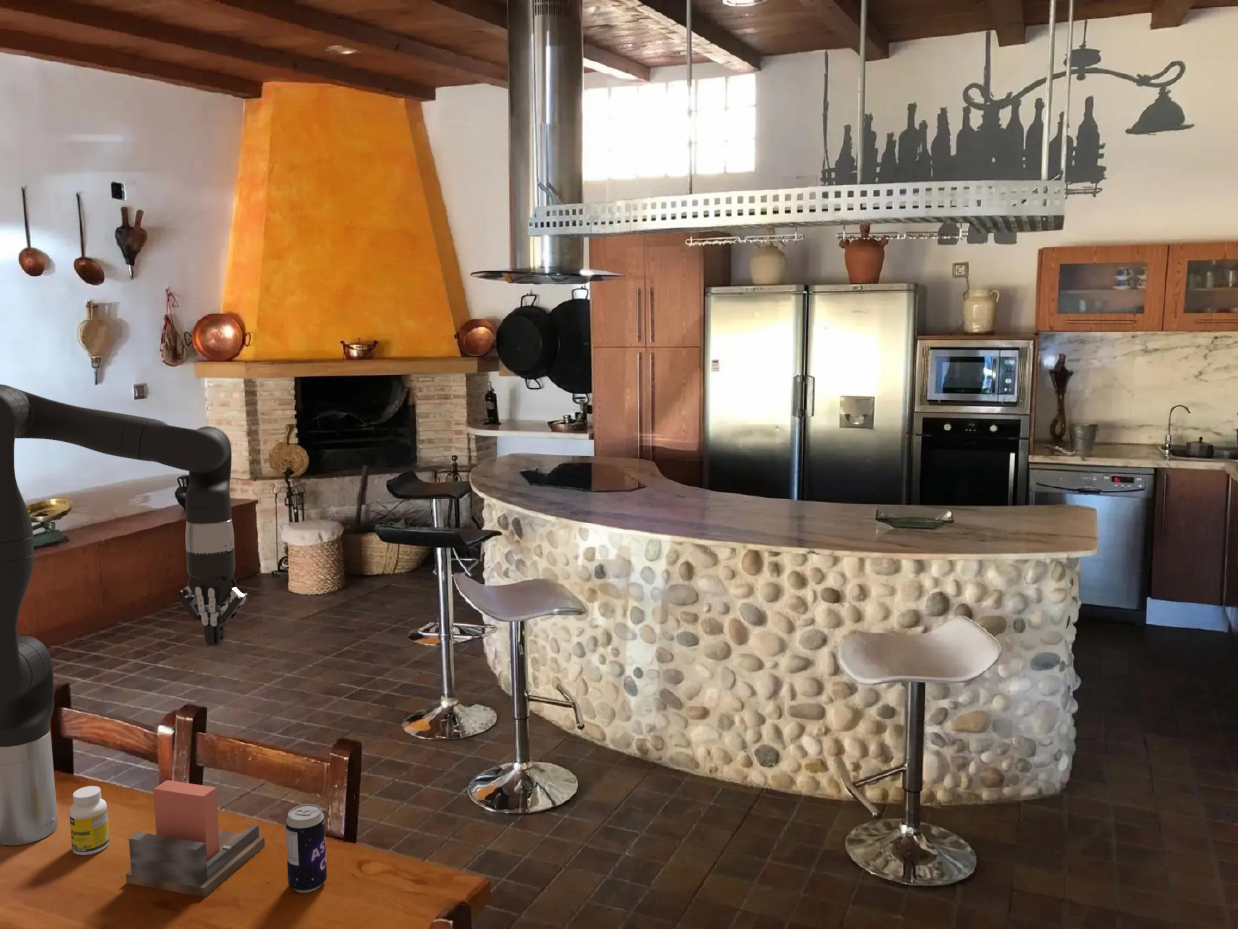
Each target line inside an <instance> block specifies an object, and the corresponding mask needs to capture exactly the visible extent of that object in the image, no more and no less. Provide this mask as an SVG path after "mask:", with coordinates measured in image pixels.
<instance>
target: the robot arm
mask: <svg viewBox="0 0 1238 929" xmlns="http://www.w3.org/2000/svg"><path fill="white" fill-rule="evenodd" d="M16 439H36V440H37V439H38V440H50V441H57V442H63V443H67V444H68V443H69V444H72V445H76V446H78V447H82V448H86V449H89V450H90V451H94V452H97V453H101V454H103V455H109V456H112V457H113V456H114V457H119V458H124V459H132V460H137V461H143V462H144V461H145V462H154V463H158V464H161V465H164V466H168V467H170V468H175V469H178V470H182V471H187V472H188V480H189V481H188V486H187V490H186V492H185V498H184V499H185V500H184V501H185V504H184V505H185V520H186V522H185V524H186V526H185V554H186V555H185V556H186V572H187V575H188V576H189V578H188V580H187V586H185V587H184V588H183V589H180V590H178V591H177V592H176V597H177V598H178V600H180V602H181V604H182V606H183V607H184V608H185V610H186V611H187V612H188V614H189V616H190V617H191V618H192V620H194V621H195V622H197V621H199V622H200V623H202V625H203V630H204V631H203V632H204V641H205V643H206V646H207V647H214V648H216V647H219V646H220V645H222V644H223V642H224V641H225V624H226V623H229V621H232V620H234V619H235V618H236V617H237V615H238V614H239V612H240V611H241V609H242V608H243V607H244V605H245V604H246V603H247V601H248V600H249V598H250V597H249V596H250V595H249V594H248V593H246V592H244V593H242V592H241V591H240V590H239V589H238V588H237V585H238V584H237V581H236V579H235V577H234V574H235V571H236V555H235V532H234V526H233V520H232V503H231V500H232V499H231V493H230V490H231V489H230V487H231V485H230V484H231V476H232V474H231V473H232V462H233V461H232V458H233V457H232V455H233V454H232V451H233V450H232V444H231V441H230V438H229V436H228V435H227V433H225V432H224V431H223V430H222V429H221V428H219V427H216V426H209V425H206V426H202V427H198V428H197V429H194V428H186V427H181V426H176V425H169V424H168V423H166V422H165V421H162V420H158V419H155V418H151V417H145V416H139V415H132V414H126V413H120V412H114V411H108V410H100V409H96V408H95V409H93V408H88V407H82V406H78V405H71V404H69V403H64V402H62V401H61V402H60V401H57V400H53V399H49V398H47V397H46V398H45V397H43V396H41V395H40V396H39V395H36V394H34V393H31V392H28V391H24V390H21V389H19V388H17V387H13V386H11V385H6V384H3V383H2V384H0V844H1V845H0V846H5V845H9V846H11V845H12V846H13V845H14V846H21V845H27V844H31V843H34V842H38V841H39V840H42V839H45V837H48V836H50V835H51V834H53V833H54V831H56V829H57V828H58V826H59V825H58V823H59V822H58V821H59V820H58V809H57V798H56V797H57V795H56V786H55V784H56V783H55V772H54V760H53V748H52V735H51V719H52V716H53V713H54V708H55V692H54V685H55V684H54V683H55V682H54V668H53V667H54V666H53V661H52V658H51V655H50V652H49V650H48V649H47V647H46V645H45V644H44V643H43V642H41V641H40V640H39V639H37V638H35V637H32V636H27V635H26V636H25V635H21V636H20V635H19V636H18V620H19V615H20V614H19V613H20V610H21V607H22V605H23V604H22V603H23V602H24V601H23V600H24V598H25V595H26V593H27V590H28V587H29V584H30V582H31V577H32V574H33V570H34V565H35V546H34V529H33V524H32V519H31V516H30V513H29V509H28V507H27V505H26V501H25V500H24V498H23V496H22V493H21V491H20V488H19V486H18V483H17V477H16V473H15V472H16V471H15V470H16V469H15V440H16ZM12 846H11V847H12Z"/></svg>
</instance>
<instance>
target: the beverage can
mask: <svg viewBox="0 0 1238 929" xmlns="http://www.w3.org/2000/svg"><path fill="white" fill-rule="evenodd" d="M326 840H327V839H326V818H325V815H324V813H323V810H322V807H320V806H319V805H317V804H313V803H306V804H300V805H297V806H295V807H293V808H291V809H290V810H289V811H288V813H287V818H286V820H285V841H286V844H285V845H286V859H287V860H286V863H287V864H286V867H287V884H288V886H289V887H290V888H291V889H293V890H294V891H296V892H297V893H302V894H303V893H305V894H306V893H311V892H314V891H316V890H318V889H319V888H321V886H322V885H323V884H324V883H325V882H326V880H327V878H328V873H327V872H328V871H327V846H326V844H327V843H326V842H327V841H326Z"/></svg>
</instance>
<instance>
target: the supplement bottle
mask: <svg viewBox="0 0 1238 929" xmlns="http://www.w3.org/2000/svg"><path fill="white" fill-rule="evenodd" d="M101 792H102V790H101V788H100V786H96V785H89V786H84V787H81V788H78V789H77V790H74V792H73V794H72V802H73V805H71V807H70V809H69V814H68V815H69V825H70V838H71V849H72V850H71V851H72V852H73V853H74V854H76V855H77V856H79V855H80V856H89V855H93V854H96V853H99V852H101V851H102V850H105V849H106V848H107V847H108V846H109V843H110V833H109V832H110V830H109V816H108V807H107V802H106V800H104V799H103V798H102V793H101Z"/></svg>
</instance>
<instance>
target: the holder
mask: <svg viewBox="0 0 1238 929" xmlns="http://www.w3.org/2000/svg"><path fill="white" fill-rule="evenodd" d="M259 828H260V825H259V824H252V825H251V826H250V827H248V828H247V829H246V830H244V831H243V832H242V833H239V832H234V831H227V830H221V829H218V830H219V849H220V852H218V853H217V854H216V855H215V856H214V857H212V858H211V859H210V860H209V861H207V862H206V845H205V843H202V842H196V841H190V840H184V839H178V838H172V837H166V836H160V835H156V834H153V833H146V832H140V831H137V832H136V833H134V834H133V835H132V836H130V837H129V838H128V844H129V848H128V849H129V861H130V870H129V871H128V872H127V873H125V878H126V880H125V882H126V884H129V885H136V886H141V887H147V888H150V889H151V888H153V889H156V890H157V889H158V890H162V891H168V892H169V891H170V892H174V893H180V894H184V895H191V896H196V897H201V898H206V897H207V896H208V895H210V894H211V893H212V892H213V891H214V890H216V889H217V888H218V887H219V886H220V885H222V883H223V882H224V881H226V880H227V879H228V878H229V877H230V876H232V875H233V874H234V873H235V872H236V871H237V870H239V869H240V868H241V867H242V866H243V865H244V864H246V863H247V862H248V861H249V860H250V859H252V857H254V856H255V855H256V854H257V853H258V852H259V851H260V850H262V849H263V848H264V847H265V846H266V844H265V842H266V840H265V837H264V836H260V829H259Z"/></svg>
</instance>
